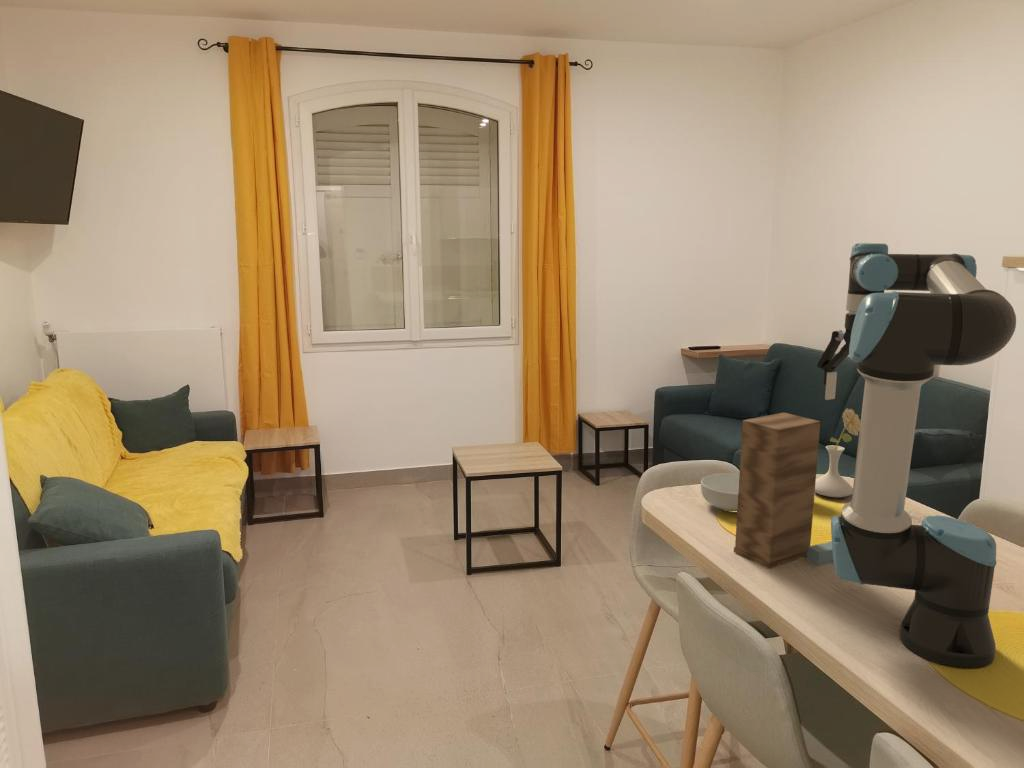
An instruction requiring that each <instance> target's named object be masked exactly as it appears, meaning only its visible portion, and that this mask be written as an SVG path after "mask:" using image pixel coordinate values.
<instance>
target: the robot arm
mask: <svg viewBox="0 0 1024 768" xmlns="http://www.w3.org/2000/svg"><path fill="white" fill-rule="evenodd" d="M977 267H978V266H977V263H976V258H975V257H974V256H972V255H970V254H959V253H952V254H949V253H948V254H944V253H943V254H942V253H941V254H936V253H935V254H934V253H933V254H920V253H919V254H918V253H917V254H915V253H912V254H911V253H909V254H908V253H889V246H888V244H887V243H872V242H871V243H870V242H868V243H867V242H865V243H863V242H860V243H855V244H853V245H852V246H851V252H850V257H849V274H848V275H849V277H848V286H847V287H848V289H847V295H846V305H845V310H846V311H847V313H846V314H845V319H844V329H845V331H843V330H834V331H832V332H831V337H830V341H829V343H828V344H827V346H826V348H825V350H824V351H823V353H822V355H821V357H820V359H819V361H818V363H817V364H816V365H817V366H816V367H817V368H819V369H822V371H823V372H824V376H823V384H824V385H825V393H824V394H825V395H824V400H826V401H829V400H835V399H836V391H837V390H836V389H837V378H838V377H837V375H838V371H836V368H838V367H839V365H840V364H841V363H842V362H843V361H844V360H845V359H846V358H848V356H849V359H850V360H851V361H854V363H857V365H856V370H857V372H858V374H859V375H861V376H862V378H863V379H864V381H865V382H864V389H863V399H862V406H861V418H860V432H858V441H857V451H856V458H855V461H856V462H855V468H854V475H853V476H854V477H853V485H852V488H853V493H852V494H851V500H850V501H849V502H847V503H845V504H844V505H842V507H841V511H840V515H835V516H832V517H831V518H830V530H831V531H830V532H831V533H830V535H831V542H832V550H833V560H834V562H833V568H834V572H835V575H836V576H837V578H839V579H840V580H841V581H844V582H851V583H856V584H859V585H869V586H870V585H871V586H878V587H886V588H895V589H902V590H909V591H914V597H913V598H914V599H913V600H912V602H911V604H910V606H909V607H908V609H907V612H906V613H905V615H904V617H903V619H902V620H901V623H900V626H899V627H900V628H899V639H900V641H901V642H902V644H903V645H904V646H905V647H906V648H908V650H909V651H911V652H912V653H914V654H916V655H918V656H920V657H921V658H923V659H926V660H928V661H932V662H933V663H937V664H940V665H943V666H944V665H945V666H947V667H948V666H949V667H953V668H961V669H977V668H976V667H979V668H983V667H982V666H984V667H987V666H988V664H989V665H990V664H992V663H993V662H994V660H995V654H996V642H995V638H994V633H993V629H992V626H991V621H990V615H989V611H990V603H991V596H992V588H993V582H994V580H993V579H994V574H995V567H997V542H996V540H995V538H994V537H993V536H992V535H991V534H990V533H989V532H987V530H985V529H984V528H981V527H979V526H978V525H975V524H973V523H971V522H968V521H965V520H962V519H959V518H954V517H949V516H947V515H945V516H943V515H929V516H926V517H924V518H923V520H922V521H921V524H913V519H912V517H911V515H910V514H909V513H908V512H907V510H905V504H906V499H907V491H908V483H909V477H910V476H909V475H910V469H911V462H912V456H913V455H912V454H913V447H914V441H915V433H916V425H917V419H918V413H919V412H918V410H919V405H920V395H921V389H922V385H924V384H925V383H927V382H928V381H930V380H931V379H933V377H934V372H935V367H936V366H965V365H967V366H968V365H972V364H975V363H979V362H982V361H985V360H986V359H989V358H991V357H993V356H995V355H996V354H997V353H999V352H1000V351H1001V350H1003V348H1004V347H1006V345H1007V344H1008V343H1009V342H1010V341H1011V340H1012V337H1013V335H1014V333H1015V332H1016V329H1017V315H1016V312H1015V309H1014V307H1013V306H1012V304H1011V302H1009V301H1008V299H1006V298H1005V297H1004V296H1003V295H1002V294H1001V293H999V292H997V291H994V290H991V289H987V288H986V287H985V286H984V285H983V284H982V283H981V282H980V281H979V280H978V279H977V273H978V272H977ZM885 291H890V292H885ZM891 291H892V292H891ZM902 291H904V292H902ZM905 291H910V292H905ZM911 291H912V292H911ZM913 291H914V292H913ZM916 291H917V292H916ZM920 291H921V292H920ZM929 292H930V293H929ZM842 341H844V342H845V343H844V345H842V347H841V348H840V350H839V351H838V352H837V350H838V349H839V347H840V345H841V343H842ZM836 352H837V353H836ZM992 661H993V662H992ZM986 665H987V666H986Z"/></svg>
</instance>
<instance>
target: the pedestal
mask: <svg viewBox="0 0 1024 768" xmlns="http://www.w3.org/2000/svg"><path fill="white" fill-rule="evenodd" d="M741 430H742V431H741V443H740V444H741V447H740V460H739V461H740V463H739V475H740V476H739V492H738V508H737V512H736V529H735V541H734V542H735V543H734V547H733V553H734V552H736V553H737V555H739V556H741V555H742V556H741V557H743V556H744V558H745V557H746V558H745V559H747V558H748V560H750V561H752V562H755V563H756V562H757V563H756V564H758V563H759V565H760V564H761V565H760V566H763V567H765V568H768V569H772V568H775V567H779V566H781V565H783V564H786V563H789V562H792V561H795V560H798V559H801V558H804V557H807V556H806V555H807V550H808V546H811V543H812V541H811V540H812V531H813V530H812V527H813V518H814V517H813V516H814V502H815V494H816V492H815V482H816V479H817V468H818V457H819V445H820V443H819V442H820V431H821V420H816V419H811V418H807V417H804V416H800V415H797V414H791V413H789V412H780V413H774V414H769V415H763V416H758V417H754V418H748V419H743V420H742V427H741ZM736 553H735V554H736Z"/></svg>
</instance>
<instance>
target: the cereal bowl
mask: <svg viewBox="0 0 1024 768" xmlns="http://www.w3.org/2000/svg"><path fill="white" fill-rule="evenodd" d="M739 476H740V473H738V474H737V473H726V472H725V473H724V472H723V473H721V472H720V473H712V474H708V475H706V476H703V477H702V478H701V481H700V491H701V492H700V493H701V494H702V497H703V498H704V499H705V501H706V502H707V503H708V504H710V505H712V506H714V507H716V508H718V509H719V510H721V509H722V510H721V511H723V510H727V511H737V508H738V492H739ZM727 511H726V512H727Z"/></svg>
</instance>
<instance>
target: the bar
mask: <svg viewBox="0 0 1024 768" xmlns="http://www.w3.org/2000/svg"><path fill="white" fill-rule="evenodd" d="M806 560H807V561H809V562H811V563H813V564H815V565H817V566H822V565H823V566H824V565H827V564H830V563H834V560H833V550H832V541H828V542H823V543H819V544H814V545H810V546H808V550H807V556H806Z"/></svg>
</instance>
